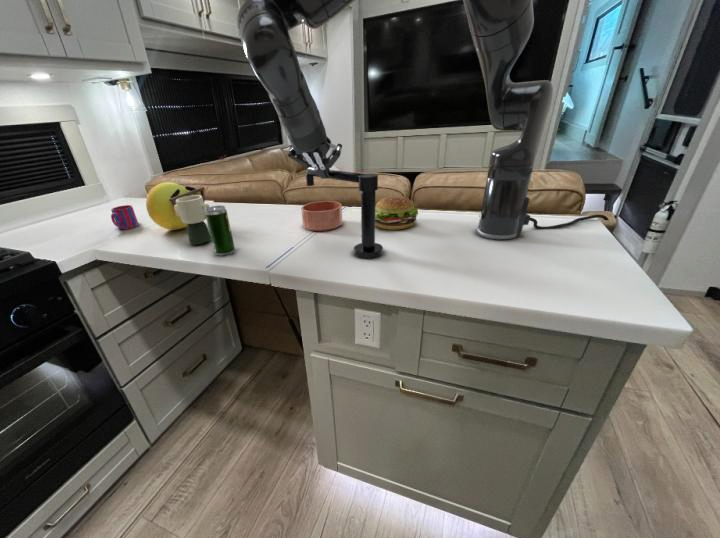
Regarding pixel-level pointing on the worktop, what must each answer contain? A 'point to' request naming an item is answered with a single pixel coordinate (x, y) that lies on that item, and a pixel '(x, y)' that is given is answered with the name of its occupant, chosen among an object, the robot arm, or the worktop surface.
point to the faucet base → (368, 229)
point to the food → (395, 213)
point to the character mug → (193, 217)
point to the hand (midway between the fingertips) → (325, 175)
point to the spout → (347, 179)
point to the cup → (124, 217)
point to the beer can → (220, 230)
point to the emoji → (168, 204)
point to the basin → (322, 215)
